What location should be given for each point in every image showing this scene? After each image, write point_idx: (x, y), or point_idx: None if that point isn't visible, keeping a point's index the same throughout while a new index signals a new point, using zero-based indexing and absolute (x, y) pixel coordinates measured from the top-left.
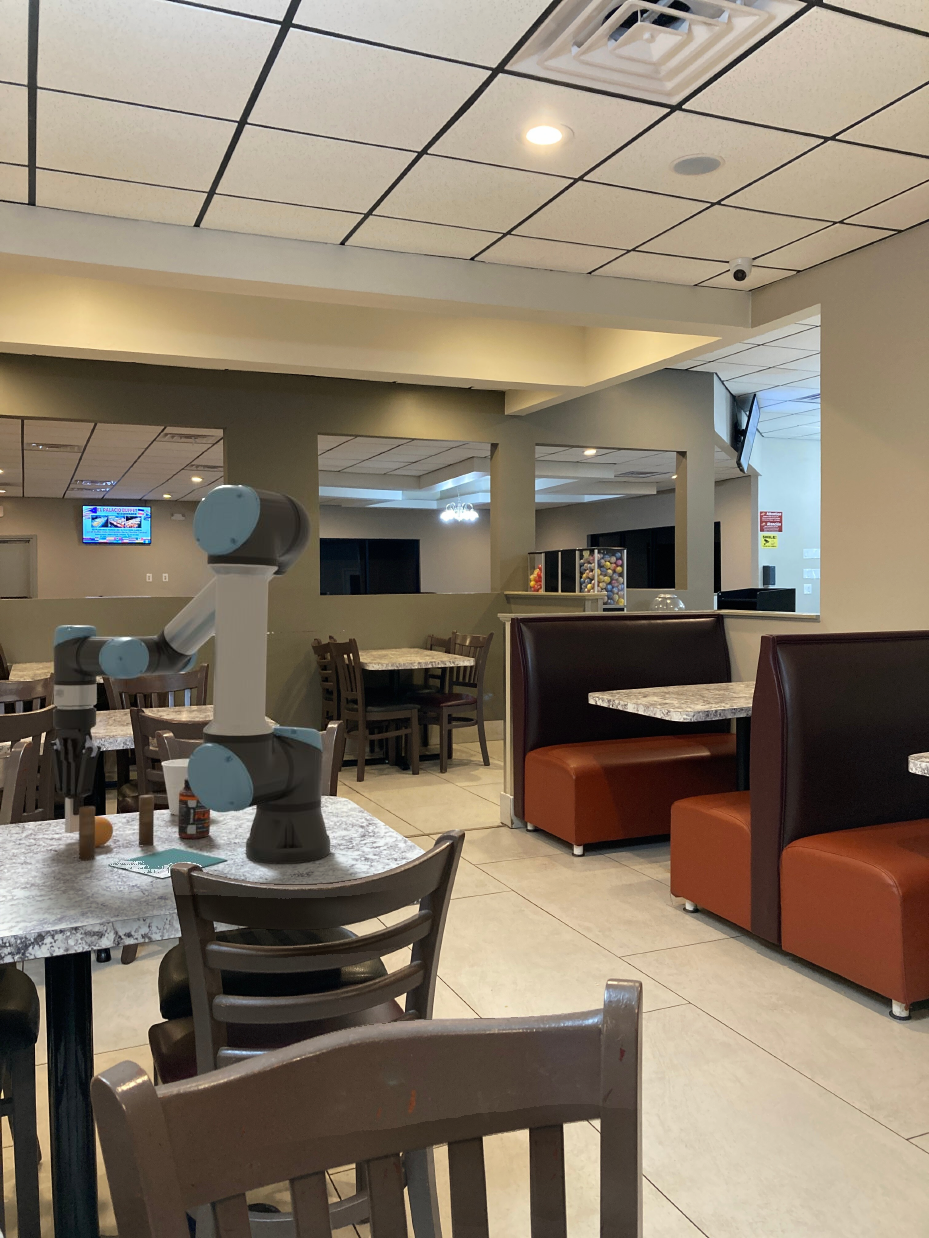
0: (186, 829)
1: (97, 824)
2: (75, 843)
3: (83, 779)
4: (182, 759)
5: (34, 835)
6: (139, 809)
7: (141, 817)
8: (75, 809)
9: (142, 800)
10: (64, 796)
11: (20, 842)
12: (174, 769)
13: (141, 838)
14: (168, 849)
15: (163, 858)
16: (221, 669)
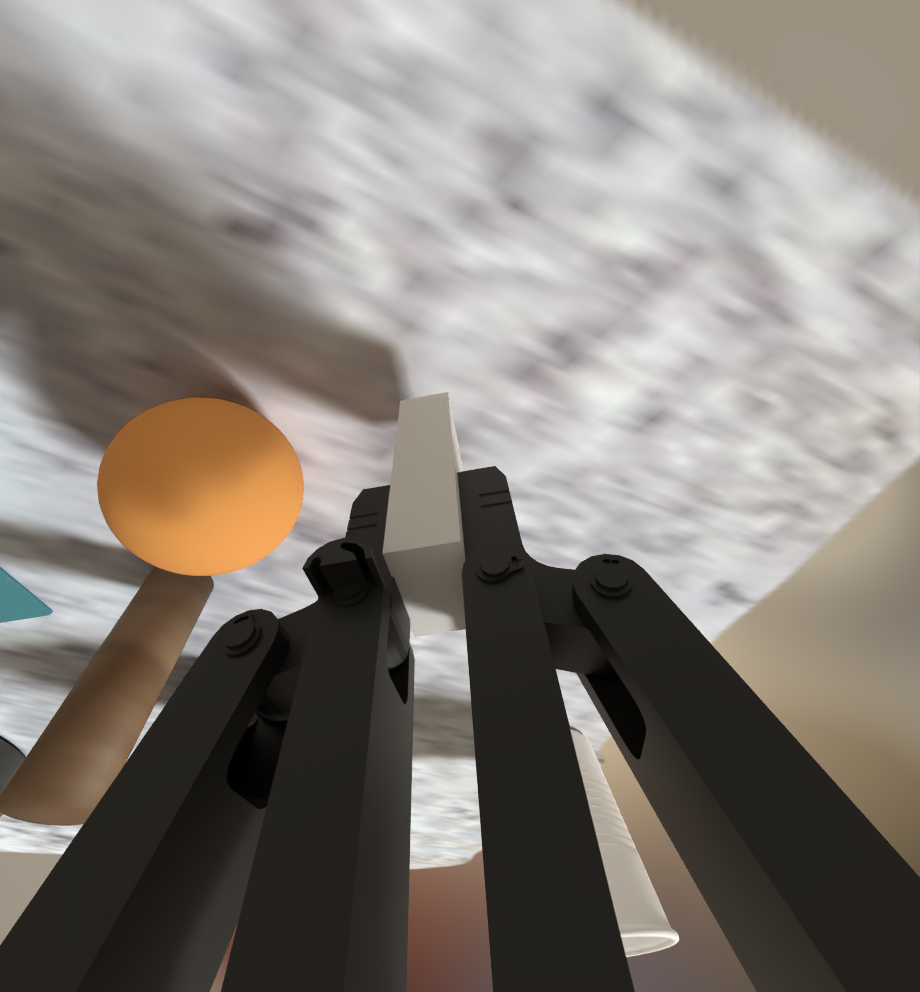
0: None
1: (102, 502)
2: (374, 394)
3: (77, 841)
4: (653, 949)
5: (727, 307)
6: (82, 711)
7: (88, 672)
8: (370, 515)
9: (15, 776)
10: (490, 548)
11: (648, 138)
12: None
13: (145, 586)
14: (28, 597)
15: None
16: None
